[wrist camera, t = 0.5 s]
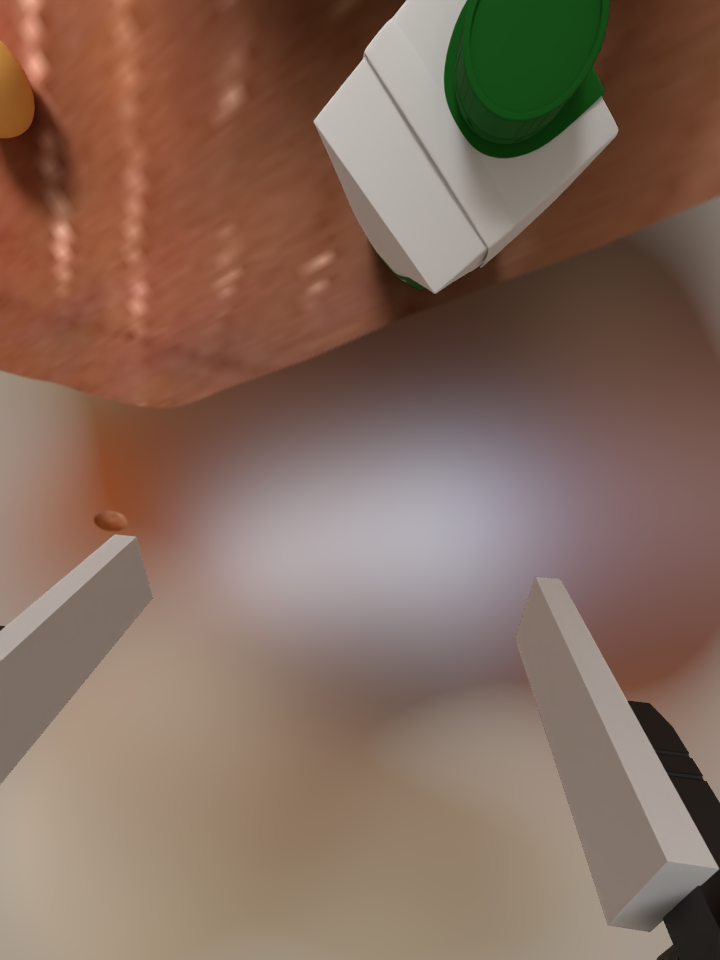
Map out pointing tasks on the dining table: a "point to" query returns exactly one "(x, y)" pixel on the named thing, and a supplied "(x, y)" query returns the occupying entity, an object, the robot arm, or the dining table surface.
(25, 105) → the ball
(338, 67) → the dining table surface
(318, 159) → the dining table surface
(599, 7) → the milk carton
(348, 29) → the dining table surface
